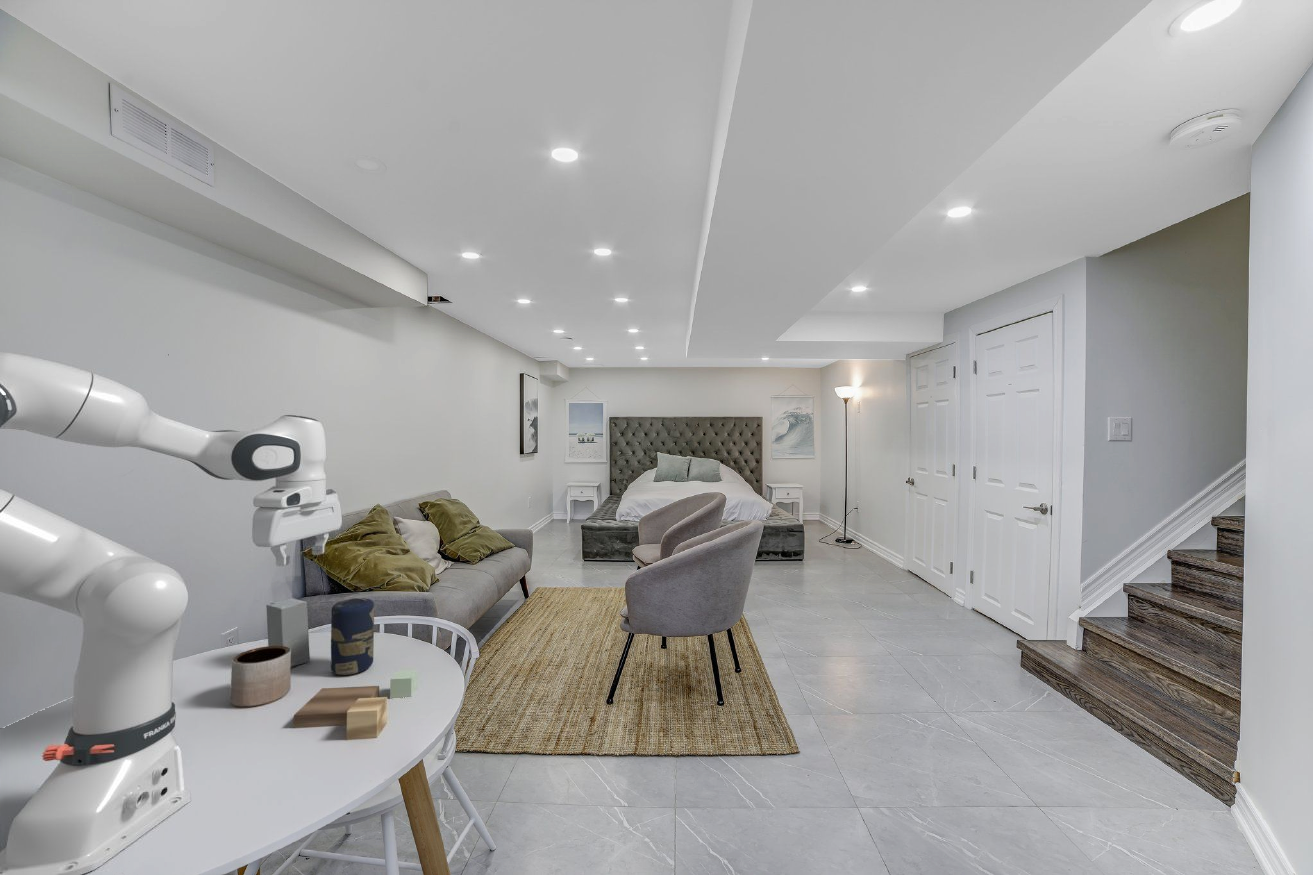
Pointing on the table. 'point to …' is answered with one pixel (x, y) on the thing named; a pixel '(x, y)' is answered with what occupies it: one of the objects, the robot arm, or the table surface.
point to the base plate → (332, 706)
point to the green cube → (403, 684)
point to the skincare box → (289, 628)
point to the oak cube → (366, 718)
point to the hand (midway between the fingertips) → (301, 559)
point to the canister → (352, 636)
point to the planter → (260, 676)
